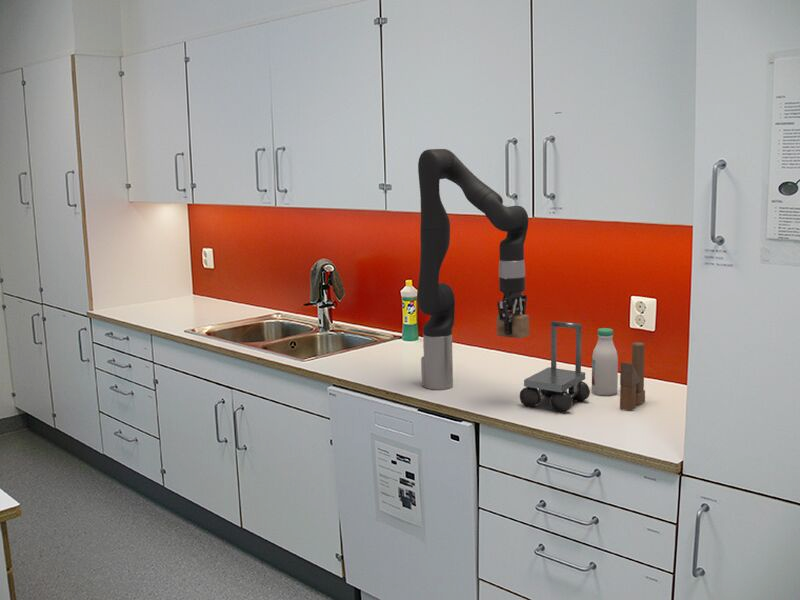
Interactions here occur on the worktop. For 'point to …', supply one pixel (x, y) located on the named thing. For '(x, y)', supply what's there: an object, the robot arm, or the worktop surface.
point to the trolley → (557, 378)
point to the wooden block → (633, 379)
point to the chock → (515, 326)
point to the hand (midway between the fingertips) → (513, 332)
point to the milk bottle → (605, 364)
